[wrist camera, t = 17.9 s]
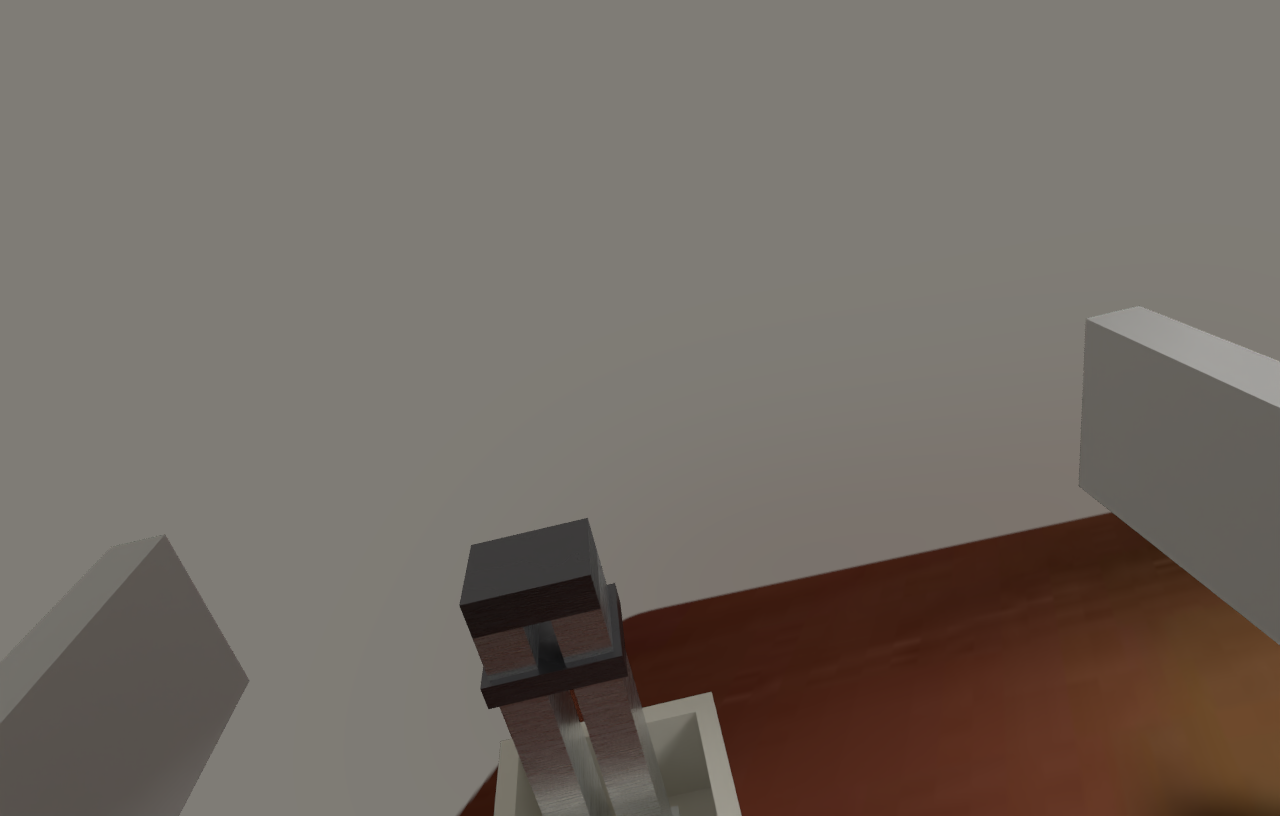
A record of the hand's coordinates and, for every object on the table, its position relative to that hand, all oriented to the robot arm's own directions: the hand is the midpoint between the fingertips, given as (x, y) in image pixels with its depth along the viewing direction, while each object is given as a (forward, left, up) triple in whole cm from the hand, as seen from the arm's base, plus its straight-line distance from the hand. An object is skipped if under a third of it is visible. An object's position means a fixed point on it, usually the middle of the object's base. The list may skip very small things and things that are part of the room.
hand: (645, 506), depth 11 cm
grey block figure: (+5, -14, -29) cm, 32 cm away
